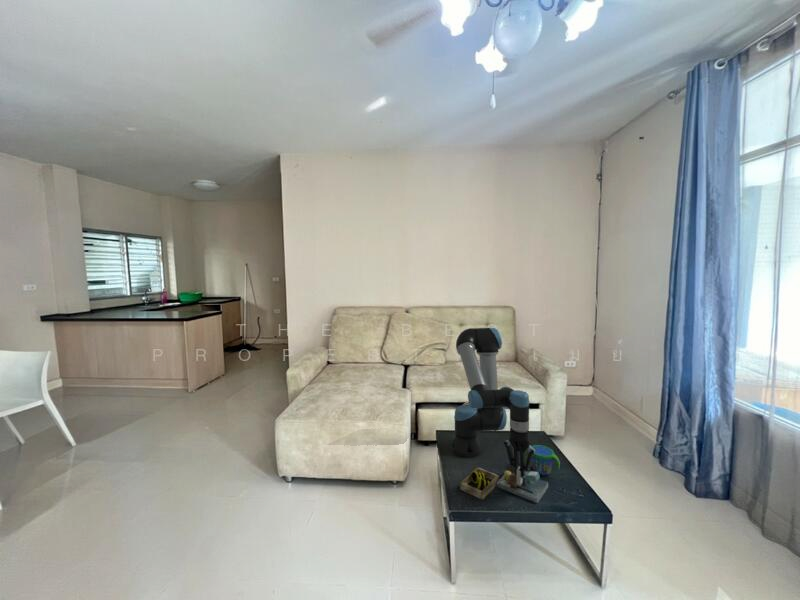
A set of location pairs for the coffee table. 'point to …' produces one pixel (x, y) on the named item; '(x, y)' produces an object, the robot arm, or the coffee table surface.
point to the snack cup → (542, 459)
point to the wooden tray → (476, 492)
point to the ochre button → (507, 474)
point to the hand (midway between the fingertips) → (519, 483)
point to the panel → (525, 488)
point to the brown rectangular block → (513, 480)
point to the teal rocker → (532, 476)
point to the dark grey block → (510, 467)
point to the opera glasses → (479, 480)
